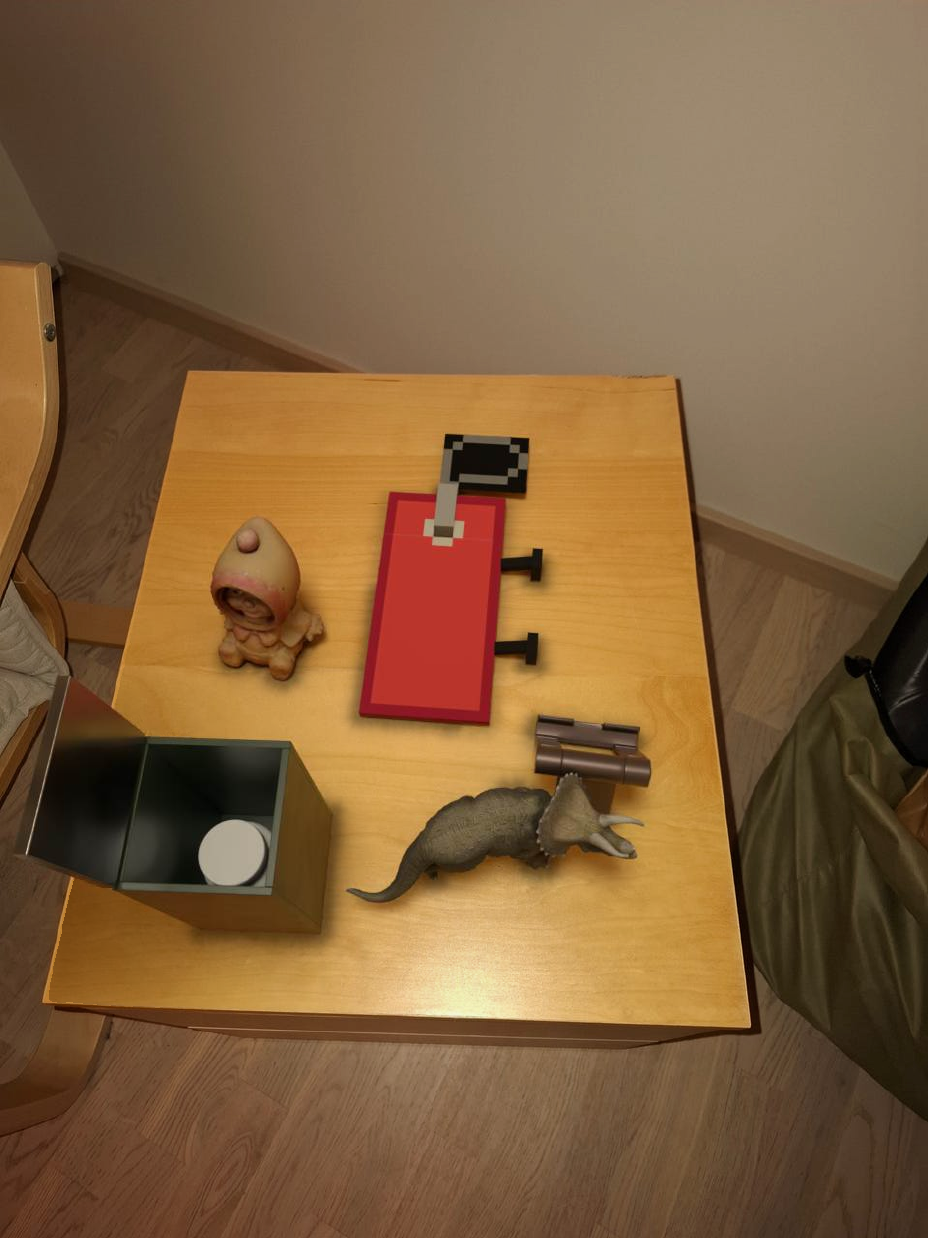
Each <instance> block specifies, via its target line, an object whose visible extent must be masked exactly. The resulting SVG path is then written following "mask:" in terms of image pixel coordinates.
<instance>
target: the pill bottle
mask: <svg viewBox="0 0 928 1238" xmlns="http://www.w3.org/2000/svg"><path fill="white" fill-rule="evenodd" d="M271 833H272V832H271V831H270V830H269V829H268V828H266V827H265V826H263V825H261V824H258V823H255V822H251V821H242V820H228V821H224V822H222V823H220V824H218V825H216V826H215V827H213V828H212V829H211V830H210V831H209V832H208V833H207V834H206V836H205V837H204V839H203V841H202V843H201V845H200V849H199V864H200V868H201V870H202V872H203V874H204V877H205V880H206V882H207V884H208V885H228V886H256V887H265V880H266V872H267V864H268V856H269V848H270V841H271Z"/></svg>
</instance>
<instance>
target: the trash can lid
mask: <svg viewBox="0 0 928 1238" xmlns="http://www.w3.org/2000/svg"><path fill="white" fill-rule="evenodd" d="M145 736H146V733H145V732H144V731H142V730H141V729H140V728H138V727H137V726H136V725H134V723H132V722H131V721H129V719H127V718H126V717H125V716H123V715H122V713H121V714H120V712H118V711H117V710H116V709H114V708H113V707H112V706H110V705H109V704H108V703H107V702H105V701H104V700H103V699H101V698H100V697H99V696H98V695H96V694H95V693H94V692H92V690H90V689H88V687H86V686H85V685H83V684H82V683H81V682H79V681H78V680H77V679H76V678H75V677H73V676H72V675H69V674H68V675H66V674H65V675H64V674H62V675H61V674H58V675H56V679H55V683H54V686H53V690H52V694H51V698H50V703H49V707H48V709H47V715H46V718H45V722H44V726H43V729H42V734H41V738H40V742H39V747H38V751H37V754H36V759H35V762H34V766H33V771H32V774H31V780H30V783H29V787H28V790H27V794H26V797H25V802H24V807H23V811H22V815H21V819H20V822H19V827H18V831H17V835H16V837H15V838H16V839H15V842H14V847H13V850H12V856H14V857H16V858H19V859H22V860H24V861H27V862H30V863H32V864H35V865H38V866H40V867H43V868H46V869H49V870H52V871H54V872H57V873H60V874H62V875H66V876H68V877H71V878H74V879H76V880H79V881H81V882H83V883H84V882H85V883H87V884H89V885H93V886H95V887H98V888H100V889H110V890H112V889H113V888H115V885H116V880H117V875H118V870H119V865H120V860H121V854H122V849H123V844H124V839H125V834H126V829H127V824H128V819H129V814H130V809H131V804H132V799H133V794H134V789H135V784H136V779H137V773H138V768H139V763H140V758H141V753H142V748H143V743H144V738H145Z"/></svg>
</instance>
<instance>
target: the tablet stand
mask: <svg viewBox="0 0 928 1238" xmlns="http://www.w3.org/2000/svg"><path fill="white" fill-rule="evenodd" d="M640 731H641V726H638V725H637V726H636V725H628V724H620V723H612V722H603V723H597V722H590V721H589V722H588V721H581V720H575V719H574V718H572V717H563V716H555V715H548V714H537V717H536V723H535V733H534V742H535V746H536V748H535V758H534V767H533V768H534V769H533V774H536V775H545V776H551V777H556V780H555V786H554V791H553V793H554V792H555V789H556V787H557V786H558V783H559V781H560V779H561V778H563V777H564V776H565V775H566V774H568V775H569V774H570V773H573V775H574V774H576V773H577V775H578V778H580V777H581V778H582V782H583V784H584V785H586V792H587V794H588V795H589V796H590V797H591V801H590V803H591V805H592V807H593V808H594V809H595V810H596V811H597V812H598V813H601V814H604V815H605V814H610V813H611V809H612V806H613V801H614V797H615V794H616V789H617V786H618V785H623V786H628V787H629V786H630V787H639V788H646V789H647V788H648V787H649V785H650V781H651V778H652V773H653V771H652V762H651V759H650V758H648V756H647V755H646V754H645V753H643V752H642V751H640V750H639V748H638V740H639V733H640ZM561 743H564V744H566V743H567V744H573V745H582V746H589V747H597V748H604V749H605V748H606V749H612V750H614V751H615V752H616V753H617V754H618V755H616V754H610V753H601V752H594V751H586V750H579V749H578V750H577V749H570V748H563V747H562V745H561Z"/></svg>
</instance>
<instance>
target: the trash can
mask: <svg viewBox="0 0 928 1238" xmlns="http://www.w3.org/2000/svg"><path fill="white" fill-rule="evenodd" d="M228 820H242V821H251V822H255V823H258V824H261V825H263V826H265V827H266V828H268V829H269V830H270V831H271V832H272V833H271V841H270V848H269V856H268V864H267V872H266V880H265V887H256V886H228V885H208V884H207V882H206V880H205V877H204V874H203V872H202V870H201V868H200V864H199V849H200V845H201V843H202V841H203V839H204V837H205V836H206V834H207V833H208V832H209V831H210V830H211V829H212V828H213V827H215V826H216V825H218V824H220V823H222V822H224V821H228ZM332 825H333V812H332V810H331V809H330V807H329V805H328V804H327V802H326V799H325V798H324V797H323V795H322V793H321V791H320V789H319V788H318V786H317V784H316V783H315V780H314V779H313V778H312V776H311V774H310V771H309V770H308V769H307V767H306V765H305V763H304V761H303V760H302V758H301V757H300V755H299V753H298V751H297V749H296V747H295V746H294V744H293V743H292V741H291V740H278V739H277V740H276V739H275V740H272V739H245V738H211V737H210V738H209V737H184V736H183V737H182V736H181V737H180V736H156V735H155V736H154V735H153V736H150V735H145V738H144V743H143V748H142V753H141V758H140V763H139V768H138V773H137V779H136V784H135V789H134V794H133V799H132V804H131V809H130V814H129V819H128V824H127V829H126V834H125V839H124V844H123V849H122V854H121V860H120V865H119V870H118V875H117V880H116V885H115V888H113V889H111V891H114V892H116V893H118V894H120V895H123V896H125V897H128V898H130V899H131V900H134V901H136V902H138V903H140V904H143V905H145V906H147V907H150V908H152V909H154V910H157V911H158V912H161V913H163V914H164V915H167V916H169V917H172V918H174V919H176V920H178V921H180V922H183V923H185V924H187V925H189V926H191V927H194V928H195V929H198V930H201V931H220V932H221V931H223V932H224V931H225V932H247V933H249V932H251V933H252V932H253V933H277V934H278V933H280V934H302V935H303V934H304V935H305V934H307V935H321V933H322V927H323V925H322V923H323V915H324V904H325V895H326V884H327V876H328V875H327V873H328V866H329V865H328V864H329V856H330V855H329V854H330V846H331V845H330V844H331V833H332V832H331V831H332Z"/></svg>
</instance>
